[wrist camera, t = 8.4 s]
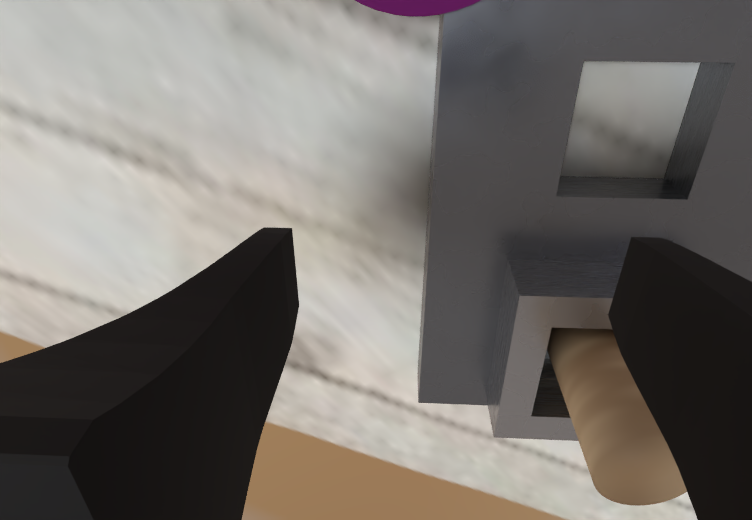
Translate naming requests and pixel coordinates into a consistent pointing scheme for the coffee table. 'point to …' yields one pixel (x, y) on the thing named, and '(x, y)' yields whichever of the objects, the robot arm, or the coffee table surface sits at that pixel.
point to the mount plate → (564, 188)
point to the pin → (612, 419)
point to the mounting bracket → (417, 6)
